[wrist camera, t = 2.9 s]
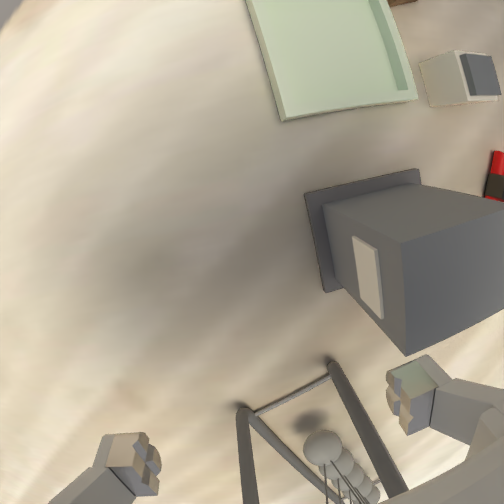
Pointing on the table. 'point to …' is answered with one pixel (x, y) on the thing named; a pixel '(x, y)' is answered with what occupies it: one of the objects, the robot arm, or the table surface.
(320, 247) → the control box
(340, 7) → the tray
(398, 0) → the walnut block
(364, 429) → the newton's cradle
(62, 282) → the table surface
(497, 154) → the tow hook
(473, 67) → the block
